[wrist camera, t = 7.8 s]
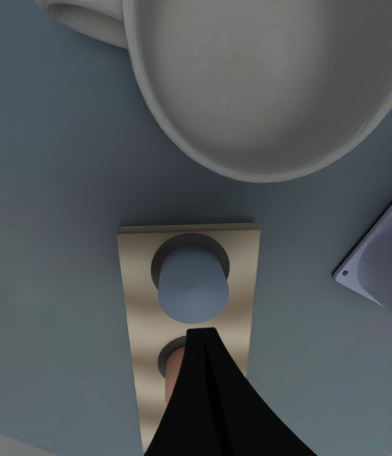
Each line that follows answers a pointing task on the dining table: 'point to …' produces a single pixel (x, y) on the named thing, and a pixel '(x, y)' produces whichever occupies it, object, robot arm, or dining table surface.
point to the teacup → (252, 75)
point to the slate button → (192, 285)
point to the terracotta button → (172, 371)
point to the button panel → (167, 327)
